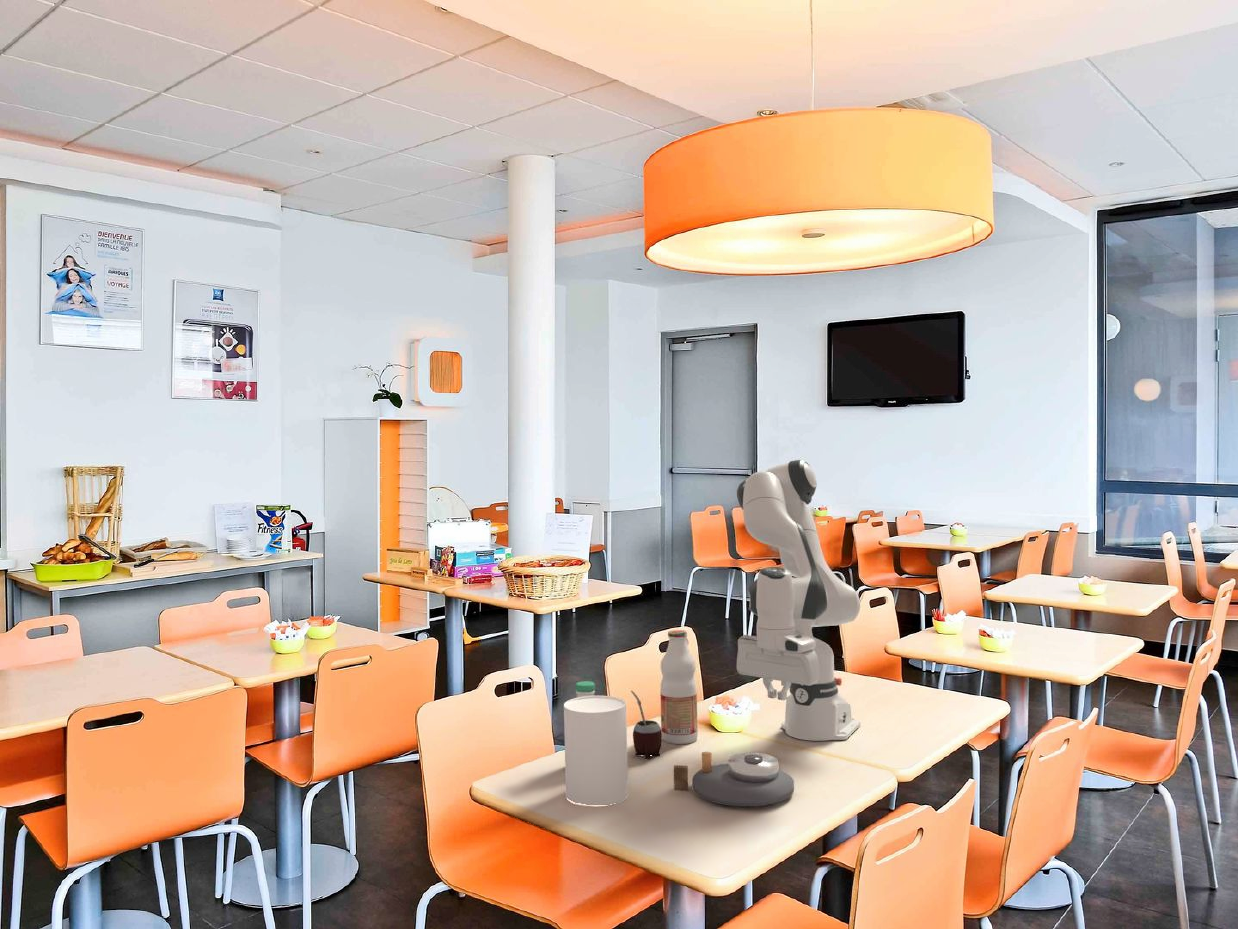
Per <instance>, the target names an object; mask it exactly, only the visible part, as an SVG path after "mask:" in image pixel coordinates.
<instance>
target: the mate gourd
mask: <svg viewBox="0 0 1238 929" xmlns="http://www.w3.org/2000/svg"><path fill="white" fill-rule="evenodd" d="M630 692H631V694H633V696H634V697H635V699H636V701H637V706H638V707H639V712H640V715H641V719H642V720H639V721H637V722H636V723H635V725H634V728H633V732H632V740H633V747H634V749H635V753H634V756H635V755H645V756H644V760H645V761H648V760H649V758H650V757H656V756H660V757H661V749H662V748H661V747H662V743H663V742H662V741H663V739H662V732H661V725H660V724H659V723H658V722H657V721H656V720H655V721H654V720H651V719H650V720H647V719H645V718H646V717H645V715H644V711H643V706H642V703H641V702H642V701H641V700H640V699H639V697H638V695H637V694H636V693H635V691H634V690H631V691H630ZM650 755H652V756H650Z"/></svg>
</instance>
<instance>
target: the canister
mask: <svg viewBox="0 0 1238 929" xmlns="http://www.w3.org/2000/svg"><path fill="white" fill-rule="evenodd" d="M563 720H564V721H563V726H564V765H565V766H564V767H565V768H564V769H565V771H564V773H565V798H566V797H567V798H568V799H569V800H571V801H573V802H575V803H581V804H586V805H610V804H614V803H618V804H619V803H622V802H624V801H625V800H626V799H627V798H628V797H629V796H628V795H629V789H628V788H629V785H628V779H629V778H628V740H627V739H628V738H627V737H628V734H627V732H628V731H627V702H626V700H624V699H623V698H620V697H616V696H612V695H611V696H610V695H594V696H584V697H578V698H576V697H575V698H571V699H568V700H567V701H565V702H564V703H563ZM626 797H627V798H626ZM623 800H624V801H623ZM614 805H615V804H614ZM610 806H611V805H610Z"/></svg>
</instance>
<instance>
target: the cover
mask: <svg viewBox="0 0 1238 929" xmlns="http://www.w3.org/2000/svg"><path fill="white" fill-rule="evenodd" d="M728 764H729V776H730V777H731V778H733V779H735V780H737V781H741V782H746V783H766V782H771V781H774V780H776V779H777V778H778V777H779V770H780V769H779V768H780V765H779V764H780V763H779V759H778V758H776V757H775V756H772V755H770V754H765V753H761V752H746V753H745V752H744V753H739V754H738V753H737V754H735V755H732V756H730V757H729V759H728Z"/></svg>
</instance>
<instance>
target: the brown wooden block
mask: <svg viewBox="0 0 1238 929" xmlns="http://www.w3.org/2000/svg"><path fill="white" fill-rule="evenodd" d="M688 789H689V765H683V764H682V765H679V764H677V765H676V764H675V765H673V791H679V792H680V791H681V792H683V791H684V792H688V791H689V790H688Z"/></svg>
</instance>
